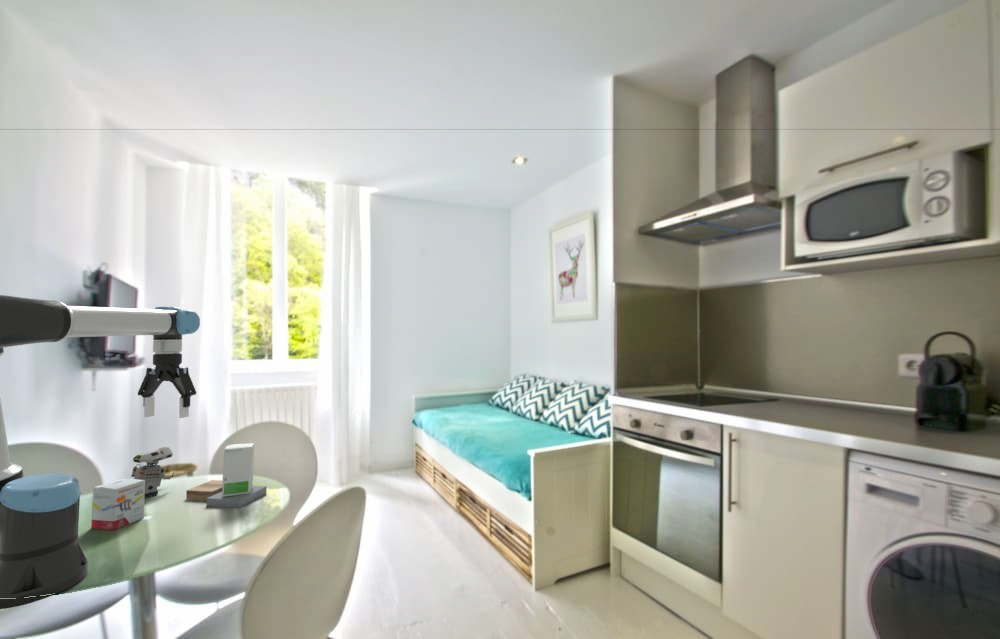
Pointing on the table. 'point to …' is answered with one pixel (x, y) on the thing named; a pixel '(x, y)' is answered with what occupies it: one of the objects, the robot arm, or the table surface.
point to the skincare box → (238, 469)
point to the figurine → (151, 469)
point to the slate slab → (236, 498)
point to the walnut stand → (204, 490)
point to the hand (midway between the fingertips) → (166, 417)
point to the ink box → (118, 503)
